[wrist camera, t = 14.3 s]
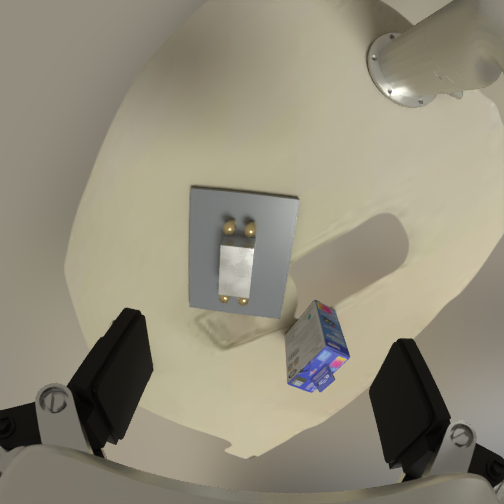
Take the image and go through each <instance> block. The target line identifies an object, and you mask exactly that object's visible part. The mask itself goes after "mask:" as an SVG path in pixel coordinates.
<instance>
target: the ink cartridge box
mask: <svg viewBox="0 0 504 504" xmlns="http://www.w3.org/2000/svg"><path fill="white" fill-rule="evenodd" d="M285 348H286V366H287V384H289V385H291V386H294V387H297V388H300V389H302V390H305V391H308V392H311V393H312V392H314V391H315V390H316V389H318V390H319V392H322V391H323V390H324V389H325V388H326V387H327V386H329V385H330V384H331V383H332V382H333V381H334V380H335V378H334V376H333V373H334V372H335V371H337V370H338V369H339V368H340V367H341V366H342V365H343V364H344V363H345V362H346V361H347V360H348V359H349V358H350V355H349V352H348V348H347V345H346V342H345V339H344V336H343V333H342V330H341V327H340V324H339V321H338V318H337V315H336V312H335V311H334V310H333V309H331V308H329V307H328V306H326V305H324V304H322V303H321V302H319V301H317V300H314V301H313V302H312V303H311V305H310V306H309V307H308V308H307V310H306V311H305V312H304V313H303V314H302V316H301V317H300V318H299V319H298V320H297V322H296V323H295V324H294V325H293V326H292V328H291V329H290V330H289V331H288V332H287V333H286V335H285ZM326 380H327V381H326ZM325 381H326V382H325ZM324 382H325V383H324ZM323 383H324V384H323ZM321 384H322V385H321Z"/></svg>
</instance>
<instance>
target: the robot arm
mask: <svg viewBox="0 0 504 504" xmlns="http://www.w3.org/2000/svg"><path fill="white" fill-rule="evenodd" d="M372 58H373V59H374V60H373V59H372ZM367 61H368V68H369V72H370V75H371V77H372V79H373V81H374V83H375V84H376V86H377V88H378V89H379V90H380V91H381V92H382V93H383V94H384V95H385V96H386V97H387V98H388V99H390V100H391V101H393V102H395V103H396V104H399V105H401V106H405V107H414V108H416V107H422V106H425V105H427V104H429V103H430V102H432V100H433V99H434V98H435V97H436V95H437V94H446V93H447V94H449V95H450V96H453V97H455V98H457V99H461V98H462V96H463V91H465V90H474V89H481V88H486V87H488V86H490V85H492V84H493V83H494V82H495V81H496V80H497V79H498V78H499V76H500V74H501V72H503V73H504V0H453V1H452V2H450V3H449V4H447V5H446V6H444V7H443V8H441V9H440V10H438V11H436V12H435V13H433V14H432V15H430V16H428V17H427V18H425V19H424V20H422V21H421V22H419V23H417V24H416V25H414V26H413V27H411V28H410V29H408V30H407V31H405V32H404V33H395V32H394V33H387V34H384V35H382V36H380V37H379V38H377V39H376V40H375V41H374V42H373V44H372V45H371V47H370V49H369V52H368V59H367ZM387 91H388V92H389V93H387ZM152 370H153V363H152V357H151V351H150V346H149V339H148V333H147V327H146V320H145V316H144V315H141V312H140V311H139V310H135V309H130V308H124V309H123V310H122V312H121V313H120V314H119V316H118V317H117V319H116V320H115V321H114V323H113V324H112V325H111V327H110V328H109V330H108V331H107V332H106V334H105V335H104V336H103V337H101V338H100V339H99V340H98V341H97V342H96V344H95V345H94V347H93V348H92V350H91V351H90V352H89V354H88V355H87V357H86V358H85V360H84V361H83V363H82V364H81V365H80V367H79V368H78V370H77V372H76V373H75V374H74V376H73V377H72V379H71V380H70V382H69V383H68V385H67V386H64V385H62V384H58V383H54V384H49V385H46V386H44V387H43V388H41V389H40V391H39V392H38V393H37V396H36V399H35V402H33V403H29V404H25V405H21V406H17V407H13V408H9V409H4V410H0V504H504V459H503V458H502V457H501V456H499V455H498V454H496V453H494V452H492V451H490V450H488V449H486V448H484V447H483V446H481V445H479V444H477V443H476V433H475V431H474V429H473V427H472V426H471V425H470V424H468V423H467V422H465V421H462V420H460V421H458V420H457V421H454V422H452V423H450V419H451V417H450V414H449V412H448V410H447V407H446V405H445V403H444V401H443V398H442V396H441V394H440V391H439V389H438V387H437V385H436V383H435V381H434V379H433V377H432V375H431V372H430V370H429V368H428V366H427V365H426V362H425V360H424V358H423V357H422V355H421V353H420V351H419V349H418V347H417V345H416V343H415V341H414V340H413V339H406V338H400V339H398V340H397V341H396V342H394V343H393V344H392V346H391V348H390V350H389V353H388V355H387V357H386V359H385V361H384V362H383V364H382V366H381V368H380V370H379V372H378V374H377V376H376V378H375V379H374V381H373V383H372V385H371V387H370V390H369V395H370V399H371V403H372V407H373V411H374V415H375V419H376V423H377V428H378V432H379V436H380V440H381V445H382V449H383V454H384V459H385V461H386V463H389V468H390V469H394V468H399V467H402V468H403V473H402V475H401V476H400V478H399V480H398V482H397V483H396V484H391V485H385V486H379V487H373V488H366V489H358V490H349V491H339V492H324V493H266V492H252V491H241V490H231V489H224V488H216V487H211V486H204V485H199V484H194V483H189V482H184V481H179V480H175V479H171V478H166V477H162V476H158V475H155V474H151V473H148V472H144V471H141V470H137V469H134V468H131V467H128V466H124V465H122V464H119V463H115V462H113V461H110V460H107V457H106V455H105V453H104V450H103V447H104V446H105V444H106V441H107V442H109V443H112V444H115V445H116V444H117V442H118V440H119V439H120V440H121V439H123V438H124V436H125V433H126V431H127V429H128V426H129V424H130V421H131V419H132V417H133V414H134V412H135V410H136V407H137V405H138V403H139V401H140V398H141V396H142V394H143V392H144V389H145V387H146V385H147V383H148V380H149V378H150V376H151V374H152Z"/></svg>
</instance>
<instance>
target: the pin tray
mask: <svg viewBox="0 0 504 504" xmlns="http://www.w3.org/2000/svg"><path fill="white" fill-rule="evenodd" d="M299 201H300V200H299V198H293V197H286V196H278V195H270V194H261V193H252V192H243V191H233V190H222V189H211V188H200V187H192V188H191V196H190V229H189V301H190V307H194V308H200V309H207V310H214V311H221V312H228V313H236V314H243V315H251V316H260V317H269V318H278V319H280V314H281V309H282V304H283V298H284V293H285V287H286V281H287V276H288V270H289V264H290V258H291V252H292V246H293V240H294V234H295V227H296V221H297V214H298V208H299ZM226 234H227V235H231V234H233V235H242V236H247V237H256V243H255V253H254V262H253V272H252V282H251V289H250V295H249V298H243V297H235V296H227V295H219V269H220V248H221V243H222V241H223V239H224V237H225V235H226Z"/></svg>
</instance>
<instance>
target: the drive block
mask: <svg viewBox="0 0 504 504" xmlns="http://www.w3.org/2000/svg"><path fill="white" fill-rule="evenodd" d="M255 243H256V237H247V236H242V235H233V234H231V235H227V234H226V235H225V237H224V239H223V241H222V243H221V248H220V269H219V295H227V296H235V297H243V298H249V295H250V289H251V282H252V272H253V262H254V253H255Z"/></svg>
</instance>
